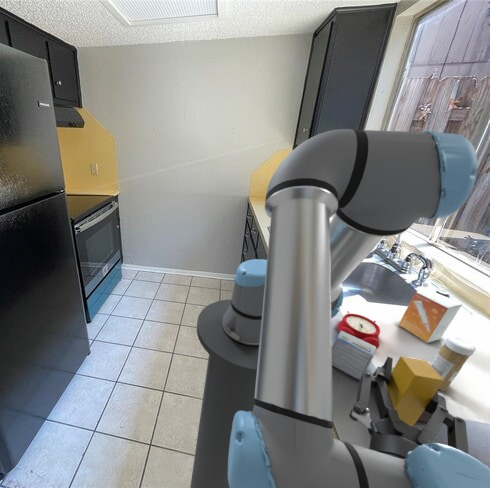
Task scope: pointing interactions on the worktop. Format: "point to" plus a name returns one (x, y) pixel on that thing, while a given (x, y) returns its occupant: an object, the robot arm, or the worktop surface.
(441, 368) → the sprinkles bottle
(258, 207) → the worktop surface
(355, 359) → the medicine box
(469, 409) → the worktop surface
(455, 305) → the small box
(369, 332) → the alarm clock
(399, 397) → the yellow bar
